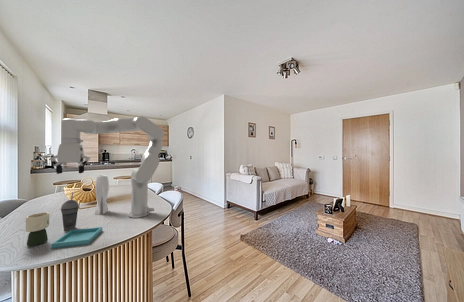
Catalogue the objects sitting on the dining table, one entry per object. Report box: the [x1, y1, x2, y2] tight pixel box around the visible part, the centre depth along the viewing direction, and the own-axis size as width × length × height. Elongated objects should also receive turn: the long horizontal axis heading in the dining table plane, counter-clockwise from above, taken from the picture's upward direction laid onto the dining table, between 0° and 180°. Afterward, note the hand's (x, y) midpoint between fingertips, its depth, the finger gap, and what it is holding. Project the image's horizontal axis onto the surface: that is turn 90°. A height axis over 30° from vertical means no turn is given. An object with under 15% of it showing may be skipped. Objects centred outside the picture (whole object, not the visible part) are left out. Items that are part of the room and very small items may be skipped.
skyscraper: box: [93, 172, 111, 216], centre depth 118 cm, size 8×8×28 cm
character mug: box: [25, 211, 50, 247], centre depth 78 cm, size 11×7×13 cm, turn 64°
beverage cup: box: [60, 191, 80, 232], centre depth 93 cm, size 7×7×20 cm
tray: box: [50, 226, 103, 249], centre depth 82 cm, size 14×14×2 cm
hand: (70, 173), depth 93 cm, fingers open, 9 cm apart
